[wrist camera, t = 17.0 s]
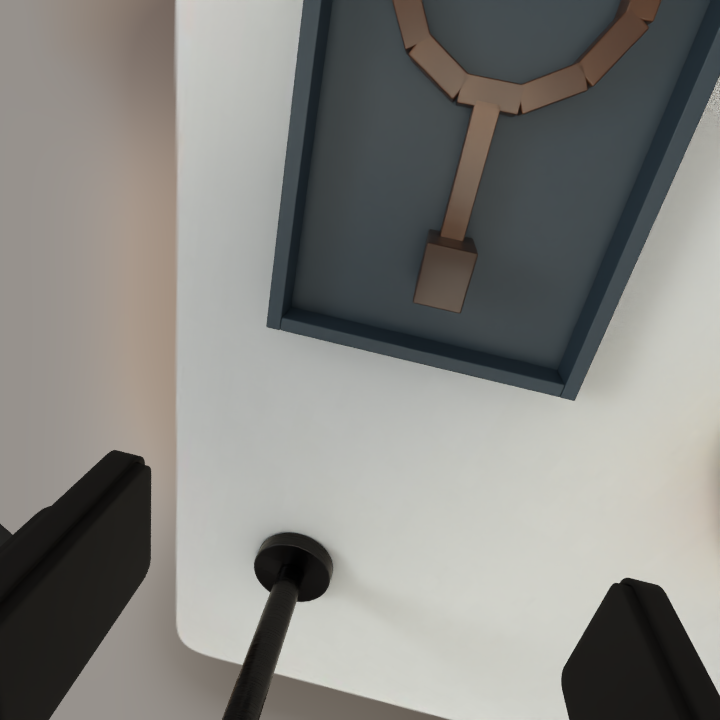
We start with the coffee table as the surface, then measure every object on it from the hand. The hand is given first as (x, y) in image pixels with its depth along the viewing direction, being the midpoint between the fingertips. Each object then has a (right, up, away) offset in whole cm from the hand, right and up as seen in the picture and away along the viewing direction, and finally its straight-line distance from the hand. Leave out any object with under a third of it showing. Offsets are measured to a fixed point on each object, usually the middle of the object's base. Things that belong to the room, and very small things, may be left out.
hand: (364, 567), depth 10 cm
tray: (+6, +17, +13) cm, 23 cm away
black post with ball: (-5, -12, +28) cm, 31 cm away
